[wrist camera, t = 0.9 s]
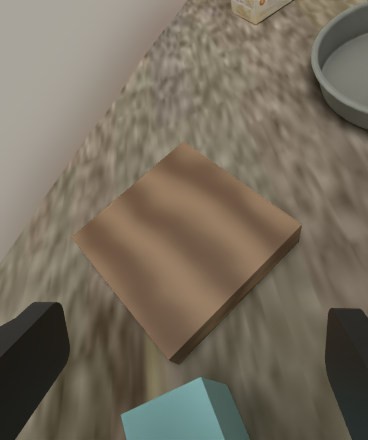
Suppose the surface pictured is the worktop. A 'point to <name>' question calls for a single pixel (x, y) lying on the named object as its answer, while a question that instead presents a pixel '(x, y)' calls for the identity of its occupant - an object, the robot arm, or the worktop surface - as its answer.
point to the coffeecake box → (256, 8)
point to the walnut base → (186, 247)
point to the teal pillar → (187, 415)
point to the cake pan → (344, 64)
